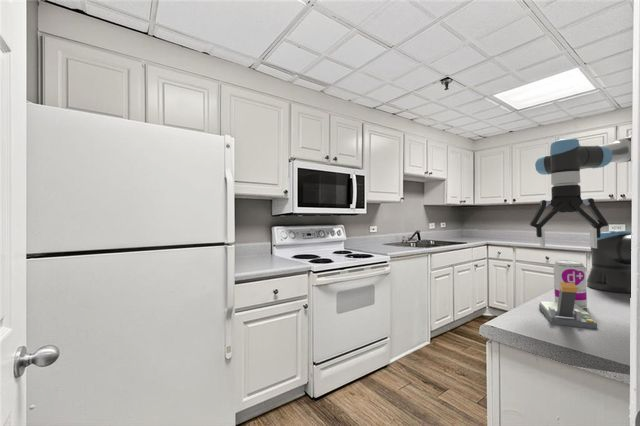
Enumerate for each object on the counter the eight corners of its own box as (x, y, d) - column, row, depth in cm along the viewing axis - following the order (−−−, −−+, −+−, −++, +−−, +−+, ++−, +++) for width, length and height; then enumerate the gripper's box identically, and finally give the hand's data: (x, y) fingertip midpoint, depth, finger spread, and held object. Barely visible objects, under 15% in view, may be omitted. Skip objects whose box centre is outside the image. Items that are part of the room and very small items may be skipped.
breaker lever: (572, 314, 83) (577, 283, 78) (575, 319, 81) (580, 288, 77) (553, 312, 84) (557, 282, 80) (555, 317, 83) (559, 287, 79)
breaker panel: (577, 312, 90) (577, 299, 90) (597, 328, 78) (596, 314, 78) (539, 308, 95) (538, 296, 95) (551, 323, 82) (551, 310, 82)
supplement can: (590, 311, 91) (588, 264, 91) (557, 307, 95) (556, 263, 95) (582, 303, 98) (580, 260, 98) (552, 301, 102) (550, 259, 102)
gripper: (609, 183, 94) (611, 246, 94) (519, 188, 105) (521, 245, 105) (621, 181, 87) (623, 249, 87) (523, 186, 98) (525, 247, 98)
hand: (567, 247), depth 96 cm, fingers open, 13 cm apart
